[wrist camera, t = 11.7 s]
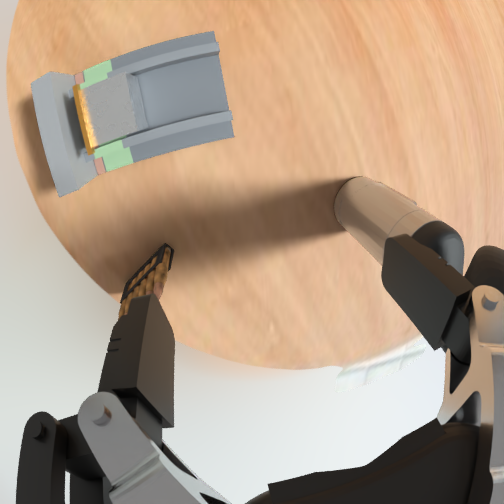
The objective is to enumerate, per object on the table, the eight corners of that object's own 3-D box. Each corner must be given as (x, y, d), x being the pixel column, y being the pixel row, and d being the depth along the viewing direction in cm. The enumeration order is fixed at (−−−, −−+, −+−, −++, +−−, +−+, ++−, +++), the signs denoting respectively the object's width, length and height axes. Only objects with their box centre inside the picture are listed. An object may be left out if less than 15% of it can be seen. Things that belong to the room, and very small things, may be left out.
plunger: (136, 72, 26) (122, 65, 20) (149, 132, 31) (137, 137, 25) (94, 88, 26) (72, 86, 20) (107, 146, 30) (88, 155, 24)
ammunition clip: (133, 290, 43) (120, 342, 33) (125, 284, 42) (109, 336, 32) (174, 250, 41) (167, 300, 31) (165, 242, 40) (155, 291, 30)
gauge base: (213, 33, 26) (216, 14, 20) (233, 136, 34) (241, 143, 27) (60, 84, 25) (30, 83, 18) (83, 179, 33) (59, 197, 26)
